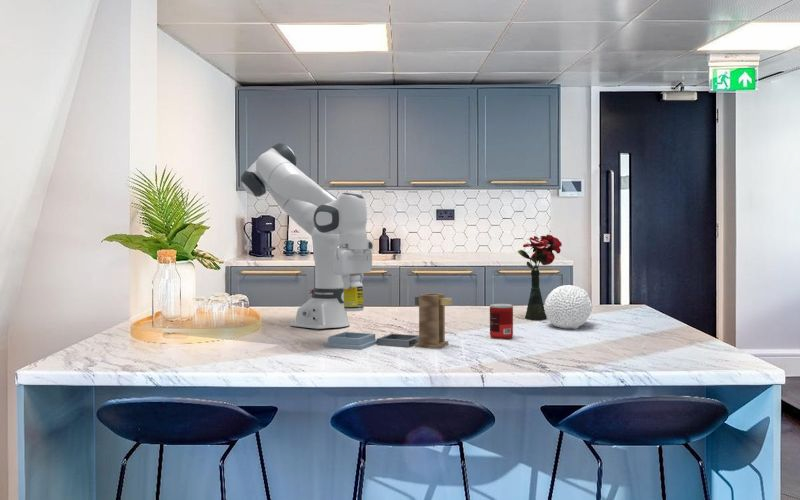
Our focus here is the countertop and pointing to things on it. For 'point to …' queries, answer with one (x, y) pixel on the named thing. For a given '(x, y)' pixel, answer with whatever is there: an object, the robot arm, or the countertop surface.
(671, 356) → the countertop surface
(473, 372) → the countertop surface
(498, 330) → the canned food
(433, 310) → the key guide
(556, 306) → the white textured ball
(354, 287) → the pill bottle
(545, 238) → the carnation
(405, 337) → the socket
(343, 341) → the tray
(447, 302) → the bar
